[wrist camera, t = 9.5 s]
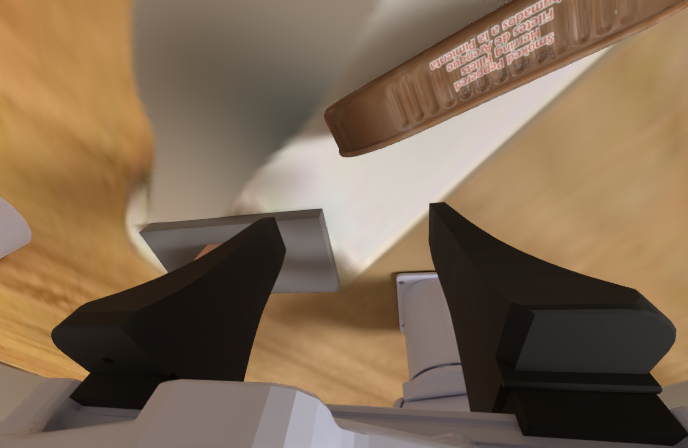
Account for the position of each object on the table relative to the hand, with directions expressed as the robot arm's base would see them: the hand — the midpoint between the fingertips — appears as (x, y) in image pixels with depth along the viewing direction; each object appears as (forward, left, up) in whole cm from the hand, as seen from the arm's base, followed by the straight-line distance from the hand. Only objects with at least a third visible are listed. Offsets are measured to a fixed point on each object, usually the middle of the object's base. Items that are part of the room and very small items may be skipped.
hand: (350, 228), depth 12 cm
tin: (+6, -6, -10) cm, 13 cm away
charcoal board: (-9, +13, -9) cm, 18 cm away
